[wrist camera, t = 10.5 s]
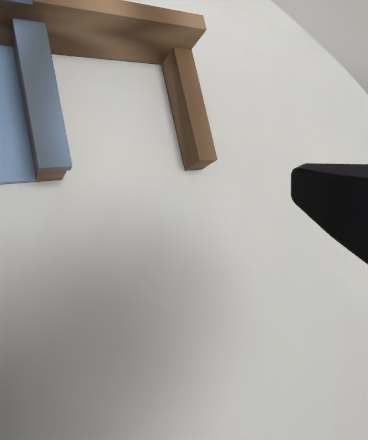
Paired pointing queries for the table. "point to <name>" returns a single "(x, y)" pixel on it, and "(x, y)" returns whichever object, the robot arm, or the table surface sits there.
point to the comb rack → (95, 48)
